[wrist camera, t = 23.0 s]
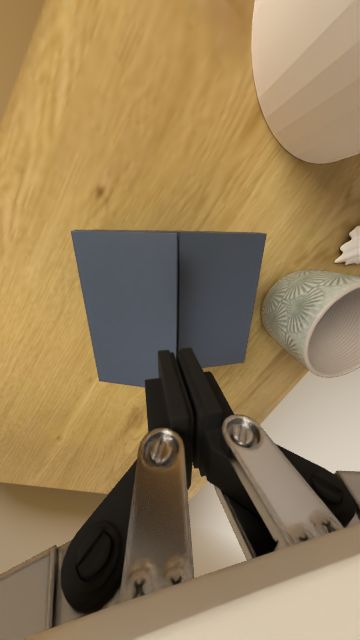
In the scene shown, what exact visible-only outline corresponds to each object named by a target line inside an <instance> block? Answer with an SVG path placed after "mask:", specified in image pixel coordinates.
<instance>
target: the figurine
mask: <svg viewBox="0 0 360 640" xmlns="http://www.w3.org/2000/svg"><path fill="white" fill-rule="evenodd" d="M349 236H350V237H351V238H352V239H351V240H350V241H349V242H347V243H345V244H343V245H342V246H341V247H340V250H341V251H342V252H343V254H342V255H341V256H339V257H338V258H337V259H336V260H335V262H334V263H340V262H346V263H345V265H348V264H352V263H356V264H357V265H358V264H359V263H360V226H357V227H356V228H355V229H354V230H353V231H351V232H350V233H349Z"/></svg>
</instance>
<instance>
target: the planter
mask: <svg viewBox="0 0 360 640" xmlns="http://www.w3.org/2000/svg"><path fill="white" fill-rule="evenodd" d="M261 318H262V322H263V325H264V327H265V329H266V331H267V332H268V333H269V335H270V336H271V337H272V338H273V339H274V340H275V341H276V342H277V343H278V344H279V345H280V346H282V347H283V348H284V349H285V350H286V351H287V352H288V353H290V354H291V355H292V356H293V357H294V358H295V359H297V360H298V361H299V362H300V363H301V364H302V365H304V366H305V367H306V368H307V369H308V370H310V371H311V372H312V373H313V374H315V375H317V376H320V377H326V378H331V377H338V376H342V375H345V374H348V373H350V372H352V371H354V370H356V369H358V368H359V367H360V277H359V276H354V275H348V274H342V273H336V272H329V271H321V270H300V271H296V272H292V273H290V274H288V275H286V276H284V277H282V278H281V279H280V280H278V281H277V282H276V283H275V284H274V285H273V286H272V287H271V288H270V290H269V291H268V293H267V294H266V296H265V299H264V301H263V304H262V309H261Z"/></svg>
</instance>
